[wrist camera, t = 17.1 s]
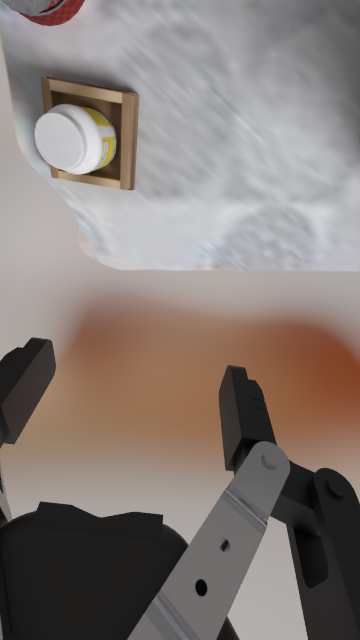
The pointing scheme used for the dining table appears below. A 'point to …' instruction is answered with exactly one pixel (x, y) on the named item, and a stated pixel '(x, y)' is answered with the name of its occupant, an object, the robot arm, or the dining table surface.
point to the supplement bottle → (76, 138)
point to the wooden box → (122, 116)
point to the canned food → (46, 10)
